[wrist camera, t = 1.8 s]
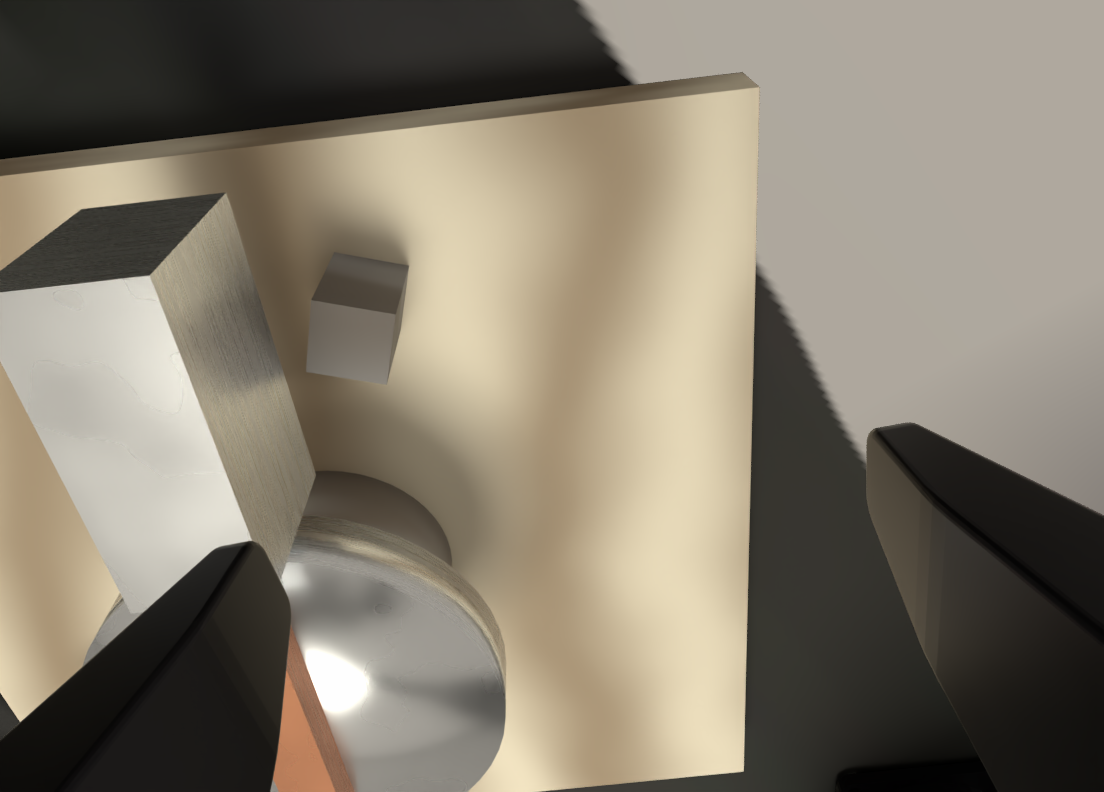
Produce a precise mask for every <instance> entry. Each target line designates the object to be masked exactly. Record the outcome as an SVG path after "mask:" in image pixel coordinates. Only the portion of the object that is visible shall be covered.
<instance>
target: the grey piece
mask: <svg viewBox="0 0 1104 792" xmlns="http://www.w3.org/2000/svg"><path fill="white" fill-rule="evenodd" d="M0 362H1V364H2V366H3V368H4V369H5V371H6V373H7V375H8V377H9V379H10V381H11V383H12V385H13V387H14V389H15V391H16V393H17V395H18V397H19V398H20V400H21V402H22V404H23V406H24V408H25V410H26V412H27V414H28V416H29V418H30V420H31V422H32V424H33V426H34V427H35V429H36V431H37V433H38V435H39V437H40V439H41V441H42V443H43V445H44V447H45V449H46V451H47V453H48V454H49V456H50V458H51V460H52V462H53V464H54V466H55V468H56V470H57V472H58V474H59V476H60V478H61V480H62V482H63V483H64V485H65V487H66V489H67V491H68V493H69V495H70V497H71V499H72V501H73V503H74V505H75V507H76V509H77V510H78V512H79V514H80V516H81V518H82V520H83V522H84V524H85V526H86V528H87V530H88V532H89V534H90V536H91V538H92V539H93V541H94V543H95V545H96V547H97V549H98V551H99V553H100V555H101V557H102V559H103V561H104V563H105V565H106V566H107V568H108V570H109V572H110V574H111V576H112V578H113V580H114V582H115V584H116V586H117V588H118V590H119V592H120V593H119V595H118V597H117V598H116V600H115V602H114V604H113V606H112V607H111V609H110V611H109V613H108V615H107V616H106V618H105V620H104V622H103V624H102V625H101V627H100V629H99V631H98V633H97V634H96V636H95V638H94V640H93V642H92V643H91V645H90V647H89V649H88V651H87V654H86V657H85V660H84V663H83V666H84V665H85V664H86V663H87V662H88V661H89V660H90V659H91V658H93V657H94V656H95V655H96V654H97V653H98V652H99V651H100V650H101V649H103V648H104V647H105V646H106V645H107V644H108V643H109V642H110V641H112V640H113V639H114V638H115V637H116V636H117V635H118V634H119V633H120V632H122V631H123V630H124V629H125V628H126V627H127V626H128V625H129V624H131V623H132V622H133V621H134V620H135V619H136V618H137V617H138V616H140V615H141V614H142V613H143V612H144V611H145V610H146V609H147V608H148V607H150V606H151V605H152V604H153V603H154V602H155V601H156V600H157V599H159V598H160V597H161V596H162V595H163V594H164V593H165V592H166V591H167V590H169V589H170V588H171V587H172V586H173V585H174V584H175V583H176V582H178V581H179V580H180V579H181V578H182V577H183V576H184V575H185V574H187V573H188V572H189V571H190V570H191V569H192V568H193V567H194V566H195V565H197V564H198V563H199V562H200V561H201V560H202V559H203V558H204V557H206V556H207V555H208V554H209V553H210V552H211V551H212V550H214V549H215V548H217V547H220V546H223V545H229V544H234V543H240V542H246V541H254V542H257V543H259V544H260V545H261V546H262V547H263V549H264V550H265V552H266V554H267V556H268V558H269V560H270V562H271V564H272V565H273V567H274V569H275V571H276V573H277V575H278V577H279V579H280V581H281V583H282V585H283V587H284V589H285V591H286V593H287V596H288V598H289V602H290V607H291V628H290V638H289V648H288V658H287V669H286V679H285V689H284V699H283V709H282V719H281V729H280V738H279V746H278V754H277V760H276V765H275V771H274V776H273V781H272V786H271V791H270V792H468V791H469V790H470V789H471V788H472V787H473V786H474V785H475V784H476V783H477V782H478V781H479V780H480V779H481V778H482V777H483V775H484V774H485V773H486V771H487V770H488V769H489V768H490V766H491V765H492V763H493V761H494V759H495V757H496V755H497V753H498V751H499V749H500V745H501V742H502V739H503V735H504V729H505V718H506V654H505V645H504V641H503V638H502V634H501V631H500V628H499V625H498V623H497V621H496V619H495V617H494V615H493V613H492V611H491V609H490V608H489V607H488V605H487V604H486V602H485V601H484V600H483V598H482V597H481V595H480V594H479V593H478V592H477V590H476V589H475V588H474V587H473V586H472V585H471V584H470V583H469V582H468V581H467V580H466V579H465V578H464V577H463V576H462V575H461V574H459V573H458V572H457V571H456V570H454V569H453V568H452V567H451V566H450V565H448V564H447V563H446V562H445V561H443V560H441V559H440V558H438V557H437V556H435V555H433V554H432V553H430V552H429V551H427V550H425V549H424V548H422V547H420V546H418V545H416V544H414V543H412V542H410V541H408V540H405V539H403V538H401V537H399V536H397V535H394V534H391V533H388V532H386V531H383V530H380V529H377V528H374V527H371V526H367V525H363V524H359V523H355V522H351V521H347V520H343V519H336V518H329V517H322V516H315V515H303V512H304V509H305V506H306V503H307V500H308V497H309V494H310V491H311V488H312V485H313V482H314V479H315V476H316V474H315V470H314V467H313V464H312V461H311V458H310V455H309V451H308V448H307V445H306V442H305V439H304V436H303V432H302V429H301V426H300V423H299V420H298V417H297V414H296V410H295V407H294V404H293V401H292V398H291V395H290V391H289V388H288V385H287V382H286V379H285V376H284V372H283V369H282V366H281V363H280V360H279V357H278V354H277V350H276V347H275V344H274V341H273V338H272V335H271V331H270V328H269V325H268V322H267V319H266V316H265V312H264V309H263V306H262V303H261V300H260V297H259V294H258V290H257V287H256V284H255V281H254V278H253V275H252V271H251V268H250V265H249V262H248V259H247V256H246V252H245V249H244V246H243V243H242V240H241V237H240V233H239V230H238V227H237V224H236V221H235V218H234V215H233V211H232V208H231V205H230V202H229V199H228V196H227V192H225V193H216V194H207V195H199V196H190V197H182V198H173V199H164V200H156V201H147V202H138V203H130V204H121V205H113V206H104V207H95V208H87V209H81V210H80V211H78V212H77V213H76V214H74V215H73V216H72V217H70V218H69V219H68V220H66V221H65V222H64V223H62V224H61V225H60V226H59V227H57V228H56V229H55V230H53V231H52V232H51V233H49V234H48V235H47V236H45V237H44V238H43V239H41V240H40V241H39V242H37V243H36V244H35V245H34V246H32V247H31V248H30V249H28V250H27V251H26V252H24V253H23V254H22V255H20V256H19V257H18V258H16V259H15V260H14V261H12V262H11V263H10V264H9V265H7V266H6V267H5V268H3V269H2V270H1V271H0Z"/></svg>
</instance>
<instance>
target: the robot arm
mask: <svg viewBox="0 0 1104 792" xmlns="http://www.w3.org/2000/svg"><path fill="white" fill-rule="evenodd" d="M867 503H868V508H869V512H870V516H871V519H872V522H873V524H874V527H875V529H876V532H877V534H878V537H879V540H880V542H881V545H882V547H883V550H884V552H885V555H886V557H887V560H888V563H889V565H890V568H891V570H892V573H893V575H894V578H895V580H896V583H897V586H898V588H899V591H900V593H901V596H902V598H903V601H904V604H905V606H906V609H907V611H908V614H909V616H910V619H911V621H912V624H913V627H914V629H915V632H916V634H917V636H918V639H919V641H920V644H921V646H922V648H923V651H924V653H925V655H926V657H927V659H928V661H929V663H930V665H931V667H932V669H933V671H934V673H935V675H936V677H937V679H938V681H939V683H940V685H941V687H942V688H943V690H944V692H945V694H946V696H947V698H948V700H949V702H950V703H951V705H952V707H953V709H954V711H955V713H956V715H957V716H958V718H959V720H960V722H961V724H962V726H963V728H964V730H965V731H966V733H967V735H968V737H969V739H970V741H971V743H972V745H973V746H974V748H975V750H976V752H977V754H978V756H979V758H980V759H981V761H980V762H970V763H960V764H949V765H939V766H929V767H918V768H908V769H898V770H887V771H877V772H867V773H857V774H849V775H845V776H843V777H841V778H840V779H839V780H838V781H837V784H836V792H1104V515H1102V514H1100V513H1098V512H1096V511H1094V510H1092V509H1089V508H1088V507H1086V506H1084V505H1082V504H1080V503H1078V502H1075V501H1073V500H1071V499H1069V498H1067V497H1065V496H1063V495H1061V494H1059V493H1057V492H1055V491H1053V490H1051V489H1049V488H1047V487H1045V486H1043V485H1041V484H1039V483H1036V482H1035V481H1033V480H1030V479H1028V478H1026V477H1024V476H1022V475H1020V474H1018V473H1016V472H1014V471H1012V470H1010V469H1008V468H1006V467H1004V466H1002V465H1000V464H998V463H996V462H994V461H992V460H990V459H988V458H985V457H983V456H981V455H979V454H977V453H975V452H973V451H971V450H969V449H967V448H965V447H963V446H961V445H959V444H957V443H955V442H952V441H951V440H949V439H947V438H945V437H942V436H940V435H938V434H936V433H934V432H932V431H930V430H928V429H926V428H924V427H922V426H920V425H917V424H915V423H902V424H896V425H891V426H885V427H880V428H875V429H873V430H872V431H871V432H870V433H869V435H868V438H867ZM290 628H291V607H290V602H289V598H288V596H287V593H286V591H285V589H284V587H283V585H282V583H281V581H280V579H279V577H278V575H277V573H276V571H275V569H274V567H273V565H272V564H271V562H270V560H269V558H268V556H267V554H266V552H265V550H264V549H263V547H262V546H261V545H260V544H259V543H257V542H254V541H246V542H240V543H234V544H229V545H223V546H220V547H217V548H215V549H214V550H212V551H211V552H210V553H209V554H208V555H207V556H206V557H204V558H203V559H202V560H201V561H200V562H199V563H198V564H197V565H195V566H194V567H193V568H192V569H191V570H190V571H189V572H188V573H187V574H185V575H184V576H183V577H182V578H181V579H180V580H179V581H178V582H176V583H175V584H174V585H173V586H172V587H171V588H170V589H169V590H167V591H166V592H165V593H164V594H163V595H162V596H161V597H160V598H159V599H157V600H156V601H155V602H154V603H153V604H152V605H151V606H150V607H148V608H147V609H146V610H145V611H144V612H143V613H142V614H141V615H140V616H138V617H137V618H136V619H135V620H134V621H133V622H132V623H131V624H129V625H128V626H127V627H126V628H125V629H124V630H123V631H122V632H120V633H119V634H118V635H117V636H116V637H115V638H114V639H113V640H112V641H110V642H109V643H108V644H107V645H106V646H105V647H104V648H103V649H101V650H100V651H99V652H98V653H97V654H96V655H95V656H94V657H93V658H91V659H90V660H89V661H88V662H87V663H86V664H85V665H84V666H82V667H81V668H80V669H79V670H78V671H77V672H76V673H75V674H73V675H72V676H71V677H70V678H69V679H68V680H67V681H66V682H65V683H63V684H62V685H61V686H60V687H59V688H58V689H57V690H56V691H54V692H53V693H52V694H51V695H50V696H49V697H48V698H47V699H46V700H44V701H43V702H42V703H41V704H40V705H39V706H38V707H37V708H35V709H34V710H33V711H32V712H31V713H30V714H29V715H28V716H27V717H25V718H24V719H23V720H22V721H21V722H20V723H19V724H18V725H16V726H15V727H14V728H13V729H12V730H11V731H10V732H9V733H7V734H6V735H5V736H4V737H3V738H2V739H1V740H0V792H270V791H271V786H272V781H273V776H274V771H275V765H276V760H277V754H278V746H279V738H280V729H281V719H282V709H283V699H284V689H285V679H286V669H287V658H288V648H289V638H290Z"/></svg>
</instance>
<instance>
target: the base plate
mask: <svg viewBox="0 0 1104 792" xmlns="http://www.w3.org/2000/svg"><path fill="white" fill-rule="evenodd" d="M759 96H760V87H759V86H758V85H757V84H755V83H754V82H753V81H752V80H751V79H750V78H748V77H747V76H746V75H745V74H744V73H743V72H740V73H731V74H723V75H715V76H706V77H697V78H689V79H680V80H672V81H664V82H655V83H647V84H638V85H629V86H621V87H612V88H604V89H595V90H587V91H578V92H570V93H561V94H553V95H544V96H536V97H528V98H519V99H511V100H502V101H494V102H485V103H477V104H468V105H460V106H451V107H443V108H434V109H426V110H417V111H409V112H400V113H392V114H383V115H375V116H366V117H358V118H349V119H341V120H332V121H324V122H315V123H307V124H298V125H290V126H281V127H273V128H264V129H256V130H247V131H239V132H230V133H222V134H213V135H205V136H196V137H188V138H179V139H171V140H162V141H154V142H145V143H137V144H128V145H120V146H111V147H103V148H94V149H86V150H77V151H69V152H60V153H52V154H43V155H35V156H26V157H18V158H9V159H1V160H0V271H1V270H2V269H3V268H5V267H6V266H7V265H9V264H10V263H11V262H12V261H14V260H15V259H16V258H18V257H19V256H20V255H22V254H23V253H24V252H26V251H27V250H28V249H30V248H31V247H32V246H34V245H35V244H36V243H37V242H39V241H40V240H41V239H43V238H44V237H45V236H47V235H48V234H49V233H51V232H52V231H53V230H55V229H56V228H57V227H59V226H60V225H61V224H62V223H64V222H65V221H66V220H68V219H69V218H70V217H72V216H73V215H74V214H76V213H77V212H78V211H80V210H81V209H87V208H95V207H104V206H113V205H121V204H130V203H138V202H147V201H156V200H164V199H173V198H182V197H190V196H199V195H207V194H216V193H225V192H227V196H228V199H229V202H230V205H231V208H232V211H233V215H234V218H235V221H236V224H237V227H238V230H239V233H240V237H241V240H242V243H243V246H244V249H245V252H246V256H247V259H248V262H249V265H250V268H251V271H252V275H253V278H254V281H255V284H256V287H257V290H258V294H259V297H260V300H261V303H262V306H263V309H264V312H265V316H266V319H267V322H268V325H269V328H270V331H271V335H272V338H273V341H274V344H275V347H276V350H277V354H278V357H279V360H280V363H281V366H282V369H283V372H284V376H285V379H286V382H287V385H288V388H289V391H290V395H291V398H292V401H293V404H294V407H295V410H296V414H297V417H298V420H299V423H300V426H301V429H302V432H303V436H304V439H305V442H306V445H307V448H308V451H309V455H310V458H311V461H312V464H313V467H314V470H315V474H316V476H315V479H314V482H313V485H312V488H311V491H310V494H309V497H308V500H307V503H306V506H305V509H304V512H303V515H315V516H322V517H329V518H336V519H343V520H347V521H351V522H355V523H359V524H363V525H367V526H371V527H374V528H377V529H380V530H383V531H386V532H388V533H391V534H394V535H397V536H399V537H401V538H403V539H405V540H408V541H410V542H412V543H414V544H416V545H418V546H420V547H422V548H424V549H425V550H427V551H429V552H430V553H432V554H433V555H435V556H437V557H438V558H440V559H441V560H443V561H445V562H446V563H447V564H448V565H450V566H451V567H452V568H453V569H454V570H456V571H457V572H458V573H459V574H461V575H462V576H463V577H464V578H465V579H466V580H467V581H468V582H469V583H470V584H471V585H472V586H473V587H474V588H475V589H476V590H477V592H478V593H479V594H480V595H481V597H482V598H483V600H484V601H485V602H486V604H487V605H488V607H489V608H490V609H491V611H492V613H493V615H494V617H495V619H496V621H497V623H498V625H499V628H500V631H501V634H502V638H503V641H504V645H505V654H506V718H505V729H504V735H503V739H502V742H501V745H500V749H499V751H498V753H497V755H496V757H495V759H494V761H493V763H492V765H491V766H490V768H489V769H488V770H487V771H486V773H485V774H484V775H483V777H482V778H481V779H480V780H479V781H478V782H477V783H476V784H475V785H474V786H473V787H472V788H471V789H470V790H469V791H468V792H538V791H548V790H559V789H569V788H579V787H590V786H600V785H610V784H620V783H631V782H641V781H651V780H661V779H672V778H682V777H692V776H702V775H713V774H723V773H733V772H743V771H744V732H745V690H746V648H747V605H748V563H749V521H750V479H751V437H752V395H753V353H754V311H755V268H756V224H757V184H758V141H759V140H758V139H759V99H760V97H759ZM119 593H120V592H119V590H118V588H117V586H116V584H115V582H114V580H113V578H112V576H111V574H110V572H109V570H108V568H107V566H106V565H105V563H104V561H103V559H102V557H101V555H100V553H99V551H98V549H97V547H96V545H95V543H94V541H93V539H92V538H91V536H90V534H89V532H88V530H87V528H86V526H85V524H84V522H83V520H82V518H81V516H80V514H79V512H78V510H77V509H76V507H75V505H74V503H73V501H72V499H71V497H70V495H69V493H68V491H67V489H66V487H65V485H64V483H63V482H62V480H61V478H60V476H59V474H58V472H57V470H56V468H55V466H54V464H53V462H52V460H51V458H50V456H49V454H48V453H47V451H46V449H45V447H44V445H43V443H42V441H41V439H40V437H39V435H38V433H37V431H36V429H35V427H34V426H33V424H32V422H31V420H30V418H29V416H28V414H27V412H26V410H25V408H24V406H23V404H22V402H21V400H20V398H19V397H18V395H17V393H16V391H15V389H14V387H13V385H12V383H11V381H10V379H9V377H8V375H7V373H6V371H5V369H4V368H3V366H2V364H1V362H0V693H1V694H2V696H3V697H4V699H5V700H6V702H7V703H8V705H9V706H10V708H11V709H12V711H13V712H14V713H15V715H16V716H17V718H18V719H19V721H20V722H21V721H22V720H23V719H24V718H25V717H27V716H28V715H29V714H30V713H31V712H32V711H33V710H34V709H35V708H37V707H38V706H39V705H40V704H41V703H42V702H43V701H44V700H46V699H47V698H48V697H49V696H50V695H51V694H52V693H53V692H54V691H56V690H57V689H58V688H59V687H60V686H61V685H62V684H63V683H65V682H66V681H67V680H68V679H69V678H70V677H71V676H72V675H73V674H75V673H76V672H77V671H78V670H79V669H80V668H81V667H82V666H83V663H84V660H85V657H86V654H87V651H88V649H89V647H90V645H91V643H92V642H93V640H94V638H95V636H96V634H97V633H98V631H99V629H100V627H101V625H102V624H103V622H104V620H105V618H106V616H107V615H108V613H109V611H110V609H111V607H112V606H113V604H114V602H115V600H116V598H117V597H118V595H119Z"/></svg>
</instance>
